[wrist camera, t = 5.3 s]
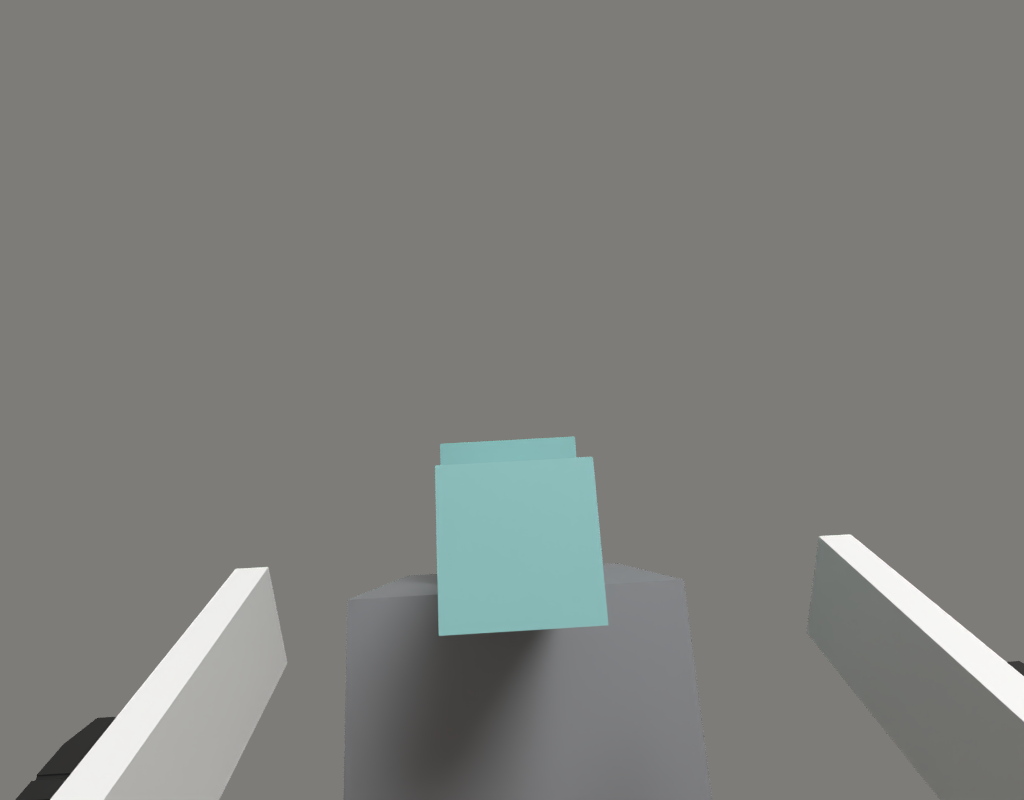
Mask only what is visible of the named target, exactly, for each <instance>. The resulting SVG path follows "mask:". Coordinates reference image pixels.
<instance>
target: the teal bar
mask: <svg viewBox="0 0 1024 800" xmlns="http://www.w3.org/2000/svg"><path fill="white" fill-rule="evenodd" d="M440 457H441V458H440V460H441V465H435V483H436V484H435V485H436V530H437V531H436V532H437V580H438V627H439V636H445V635H461V634H477V633H493V632H509V631H526V630H542V629H558V628H574V627H590V626H606V625H608V614H607V604H606V593H605V582H604V572H603V561H602V550H601V540H600V529H599V520H598V519H599V518H598V509H597V498H596V487H595V476H594V465H593V457H580V458H576V447H575V437H559V438H540V439H523V440H505V441H504V440H503V441H485V442H469V443H468V442H466V443H448V444H440Z"/></svg>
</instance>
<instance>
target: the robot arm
mask: <svg viewBox="0 0 1024 800" xmlns="http://www.w3.org/2000/svg"><path fill="white" fill-rule="evenodd" d="M807 634H808V635H809V636H810V638H811V639H812V640H813V641H814V643H815V644H816V645H817V646H818V648H819V649H820V650H821V651H822V653H823V654H824V655H825V656H826V658H827V659H828V660H829V661H830V663H831V664H832V665H833V666H834V668H835V669H836V670H837V671H838V673H839V674H840V675H841V676H842V678H843V679H844V680H845V681H846V683H847V684H848V685H849V686H850V688H851V689H852V690H853V691H854V693H855V694H856V695H857V696H858V698H859V699H860V700H861V701H862V702H863V704H864V705H865V706H866V708H867V709H868V710H869V711H870V713H871V714H872V715H873V716H874V718H875V719H876V720H877V721H878V723H879V724H880V725H881V727H882V728H883V729H884V730H885V731H886V733H887V734H888V735H889V737H890V738H891V739H892V740H893V742H894V743H895V744H896V745H897V746H898V748H899V749H900V750H901V752H902V753H903V754H904V755H905V756H906V758H907V759H908V760H909V761H910V763H911V764H912V765H913V767H914V768H915V769H916V770H917V771H918V773H919V774H920V775H921V777H922V778H923V779H924V780H925V781H926V783H927V784H928V785H929V787H930V788H931V789H932V790H933V792H934V793H935V794H936V795H937V796H938V798H939V799H940V800H1024V664H1023V663H1022V662H1020V661H1016V662H1006V661H1004V660H1003V659H1002V658H1001V657H999V656H998V655H997V654H996V653H995V652H993V651H992V650H991V649H990V648H989V647H987V646H986V645H985V644H984V643H982V642H981V641H980V640H979V639H978V638H976V637H975V636H974V635H973V634H971V633H970V632H969V631H968V630H967V629H965V628H964V627H963V626H962V625H961V624H959V623H958V622H957V621H955V620H954V619H953V618H952V617H951V616H950V615H948V614H947V613H946V612H945V611H943V610H942V609H941V608H940V607H939V606H937V605H936V604H935V603H934V602H932V601H931V600H930V599H929V598H927V597H926V596H925V595H924V594H923V593H921V592H920V591H919V590H918V589H916V588H915V587H914V586H913V585H912V584H910V583H909V582H908V581H906V580H905V579H904V578H903V577H902V576H901V575H899V574H898V573H897V572H896V571H895V570H893V569H892V568H891V567H890V566H888V565H887V564H886V563H885V562H884V561H882V560H881V559H880V558H879V557H877V556H876V555H875V554H874V553H873V552H871V551H870V550H869V549H867V548H866V547H865V546H864V545H863V544H862V543H860V542H859V541H858V540H857V539H855V538H854V537H853V536H852V535H832V536H819V539H818V547H817V555H816V563H815V571H814V578H813V587H812V594H811V602H810V610H809V618H808V625H807ZM286 665H287V660H286V654H285V649H284V644H283V639H282V634H281V629H280V624H279V619H278V613H277V608H276V603H275V598H274V593H273V588H272V583H271V578H270V573H269V568H268V567H261V568H243V569H235V570H234V572H233V573H232V574H231V575H230V577H229V578H228V579H227V580H226V582H225V583H224V584H223V585H222V587H221V588H220V589H219V590H218V592H217V593H216V594H215V595H214V597H213V598H212V599H211V600H210V602H209V603H208V604H207V605H206V606H205V608H204V609H203V610H202V611H201V613H200V614H199V615H198V617H197V618H196V619H195V620H194V621H193V623H192V624H191V625H190V626H189V628H188V629H187V630H186V631H185V633H184V634H183V635H182V636H181V638H180V639H179V640H178V641H177V643H176V644H175V645H174V647H173V648H172V649H171V650H170V651H169V653H168V654H167V655H166V656H165V658H164V659H163V660H162V661H161V663H160V664H159V665H158V666H157V667H156V669H155V670H154V671H153V672H152V674H151V675H150V676H149V677H148V679H147V680H146V681H145V682H144V684H143V685H142V686H141V687H140V689H139V690H138V691H137V692H136V694H135V695H134V696H133V697H132V699H131V700H130V701H129V702H128V703H127V705H126V706H125V707H124V709H123V710H122V711H121V712H120V713H119V715H118V716H117V717H106V718H97V719H95V720H94V721H93V722H92V723H90V724H89V725H88V726H87V727H85V728H84V729H83V730H82V731H80V732H79V733H77V734H76V735H75V736H74V737H72V738H71V739H70V740H69V741H67V742H66V743H65V744H64V745H62V747H61V748H60V749H59V750H58V751H57V752H56V754H55V755H54V756H53V757H52V758H51V759H50V761H49V762H48V763H47V764H46V765H45V766H44V767H43V769H42V770H41V771H40V772H39V773H38V774H37V778H36V780H35V781H31V782H30V784H29V785H28V786H27V787H26V788H25V789H24V791H23V792H22V793H21V794H20V795H19V796H18V797H17V799H16V800H219V799H220V797H221V795H222V793H223V790H224V789H225V787H226V785H227V782H228V781H229V779H230V777H231V775H232V773H233V771H234V769H235V767H236V765H237V763H238V761H239V759H240V757H241V755H242V753H243V751H244V749H245V747H246V745H247V743H248V741H249V739H250V737H251V735H252V733H253V731H254V729H255V727H256V725H257V723H258V720H259V719H260V717H261V715H262V713H263V711H264V709H265V707H266V705H267V703H268V701H269V699H270V697H271V695H272V693H273V691H274V689H275V687H276V685H277V683H278V681H279V679H280V677H281V675H282V673H283V671H284V669H285V666H286Z"/></svg>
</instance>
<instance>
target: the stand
mask: <svg viewBox="0 0 1024 800" xmlns="http://www.w3.org/2000/svg"><path fill="white" fill-rule="evenodd" d="M603 572H604V582H605V593H606V604H607V614H608V625H606V626H590V627H574V628H558V629H542V630H526V631H509V632H493V633H477V634H461V635H445V636H439V627H438V580H437V574H430V575H414V576H407V577H404V578H401V579H399V580H396V581H394V582H391V583H389V584H386V585H384V586H381V587H379V588H376V589H374V590H371V591H369V592H366V593H363V594H361V595H358V596H356V597H353V598H351V599H348V600H347V649H346V703H345V757H344V759H345V760H344V800H712V796H711V789H710V781H709V773H708V766H707V759H706V750H705V742H704V735H703V726H702V718H701V711H700V704H699V695H698V687H697V680H696V672H695V664H694V656H693V648H692V640H691V633H690V625H689V617H688V609H687V602H686V594H685V586H684V580H683V579H679V578H675V577H671V576H666V575H663V574H659V573H655V572H650V571H646V570H642V569H638V568H634V567H630V566H625V565H621V564H618V563H617V564H616V563H615V564H603Z"/></svg>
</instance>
